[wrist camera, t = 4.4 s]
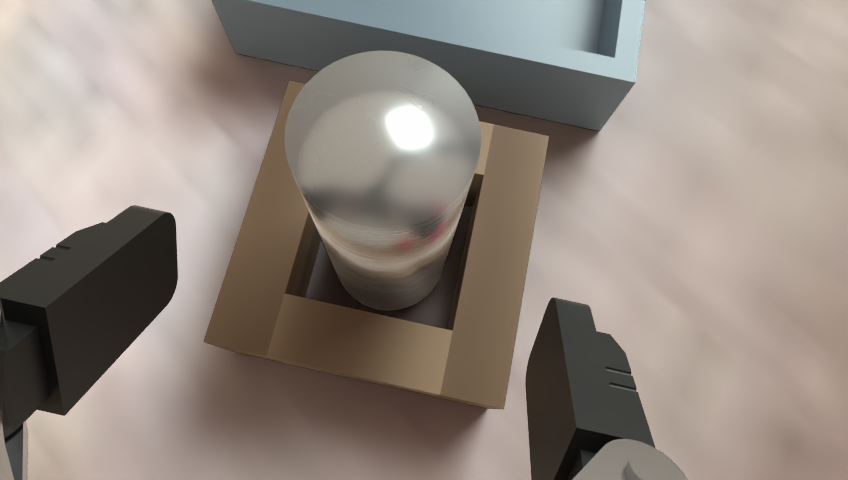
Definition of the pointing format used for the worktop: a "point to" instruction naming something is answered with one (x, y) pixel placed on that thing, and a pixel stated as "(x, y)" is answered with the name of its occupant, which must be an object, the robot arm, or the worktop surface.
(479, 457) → the worktop surface
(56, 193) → the worktop surface
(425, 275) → the pin
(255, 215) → the socket block
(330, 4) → the parts tray
